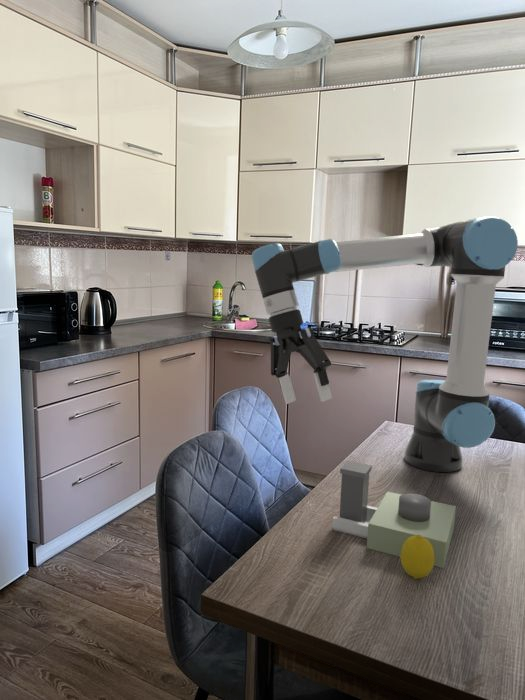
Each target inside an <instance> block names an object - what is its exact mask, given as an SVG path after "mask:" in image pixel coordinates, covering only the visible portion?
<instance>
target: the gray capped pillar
mask: <svg viewBox="0 0 525 700" xmlns="http://www.w3.org/2000/svg"><path fill="white" fill-rule="evenodd" d="M372 469H373V465H372V464H367V463H364V462H363V463H361V462H356V461H351V460H346V462H344V464H343V465H342V466H341V467H340V468H339V474H341V484H340V485H341V486H340V500H339V501H340V502H339V503H340V504H339V517H340V518H344V519H349V520H353V521H357V522H361V523H365V521H366V517H367V506H368V503H369V502H368V500H369V496H368V495H369V485H370V483H369V482H370V473H371V472H372Z"/></svg>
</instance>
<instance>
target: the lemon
mask: <svg viewBox="0 0 525 700" xmlns="http://www.w3.org/2000/svg"><path fill="white" fill-rule="evenodd" d="M400 562H401V565H402V566H401V567H402V568H403V570H404V571H405V572H406V574H407V575H409V576H411V577H412V578H413V579H414V580H418V579H421V578H425V577H427V576H428V575H429V574H431V572H432V570H433V568H434V567H435V566H434V550H433V547H432V545H431V543H430V542H429V541H428V540H427V539H426V538H424V537H422V536H421V535H415V536H411V537H409V538H408V539H407V540H406V541H405V542H404V544H403V546H402V550H401V557H400Z"/></svg>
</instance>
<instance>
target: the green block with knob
mask: <svg viewBox="0 0 525 700" xmlns="http://www.w3.org/2000/svg"><path fill="white" fill-rule="evenodd" d="M383 496H384V497H383V498H382V500H381V502H380V503H379V504H378V507H376V506H371V505H367V517H366V521H365V523H361V522H357V521H353V520H349V519H344V518H340V516H336V515H334V516H333V517H332V527H331V528H332V531H337V532H340V533H344V534H348V535H352V536H355V537H360V538H364V539H366V549H369V550H373V551H377V552H380V553H384V554H389V555H392V556H396V557H399V558H401V550H402V546H403V544H404V542H405V541H406V540H407V539H408V538H409V537H411V536H415V535H421V536H422V537H424V538H426V539H427V540H428V541H429V542H430V543H431V545H432V547H433V550H434V566H433V567H438V568H442V569H444V568H445V566H446V562H447V558H448V553H449V549H450V545H451V541H452V537H453V534H454V530H455V518H456V509H457V506H456V505H452V504H448V503H441V502H438V501H432V500H431V499H430V498H428V497H426V496H425V495H422V494H418V493H403V494H400V493H395V492H392V491H387V492H386V493H385V495H383Z"/></svg>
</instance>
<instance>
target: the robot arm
mask: <svg viewBox="0 0 525 700" xmlns="http://www.w3.org/2000/svg"><path fill="white" fill-rule="evenodd" d="M518 246H519V243H518V236H517V233H516V231H515V229H514V227H512V226H511V224H510V223H509V222H508V221H506V220H505V219H503V218H501V217H497V216H478V217H475V218H471V219H464V220H459V221H456V222H453V223H450V224H449V223H448V224H446V225H442V226H439V227H438V226H437V227H431V228H424V229H423V230H422V231H421V232H420V233H413V234H402V235H391V236H384V237H383V236H381V237H372V238H362V239H354V240H343V241H342V240H341V241H335V240H334V239H333V238H327V239H323V240H322V239H321V240H318V241H315V242H312V243H308V244H302V245H301V244H300V245H298V246H296V247H294V248H291V249H290V248H289V249H285V248H284V247H283V245H282V244H281V243H280V242H277V243H271V244H270V243H269V244H266V245H263V246H260V247H258V248H256V249H254V250H253V252H252V253H251V260H252V264H253V269H254V273H255V276H256V281H257V282H258V283H257V284H258V286H259V290H260V293H261V298H262V299H263V304H264V307H265V311H266V313H267V314H266V315H268V316H270V317H268V322H269V325H270V331H271V332H272V333H276V335H274V336H270V337H269V338H268V340H269V345H270V375H271V376H272V377H273V376H275V377H276V378H277V379H278V383H279V387H280V389H281V392H282V395H283V399H284V402H285V404H286V405H288V404H291V403H293V402H296V401H297V399H296V395H295V391H294V388H293V387H294V386H293V384H292V380H291V376H290V374H289V372H288V368H289V362H290V358H291V354H292V353H295V352H296V353H298V354H300V356H302V357H303V359H304V360H305V361H306V362H307V363H308V365H309V366H310V367H311V368H312V369H313V374H312V375H313V378H314V381H315V385H316V388H317V392H318V395H319V399H320V402H321V403H322V402H326V401H329V400H332V399H333V396H332V393H331V388H330V385H329V384H330V381H329V377H328V374H327V373H328V372H327V369H328V367H330V366H332V362H331V360H330V359H329V357H328V355H327V354H326V352H325V351H324V349H323V348H322V346H321V345H320V343H319V341H318V340H317V338H316V337H315V334H314V331H313V328H312V327H311V326H310V327H305V328H302V326H303V325H304V320H303V317H302V313H301V310H300V309H298V307H299V301H298V298H297V294H296V290H295V288H294V283H296V282H297V283H298V282H300V281H303V280H307V279H311V278H315V277H318V276H322V275H329V274H331V273H339V272H348V271H349V272H350V271H359V270H368V269H369V270H370V269H379V268H380V269H381V268H387V267H389V268H390V267H399V266H408V265H409V266H410V265H411V266H412V265H420V264H422V265H423V266H424V267H426V268H427V267H429V268H430V267H449V268H450V267H451V271H450V276H451V277H452V279H454V281H455V282H456V287H455V296H454V304H453V305H454V306H453V314H452V315H453V316H452V322H451V323H452V325H451V333H450V343H449V350H448V351H449V353H448V362H447V369H446V378H445V380H444V379H421V380H420V381H419V382H417V385H416V390H415V402H414V403H415V405H414V417H413V418H414V419H413V432H412V434H411V437H410V439H409V441H408V443H407V446H406V448H405V449H404V450H405V451H404V460H405V462H406V463H407V464H409V465H410V466H413V467H415V468H417V469H421V470H424V471H429V472H436V473H448V472H449V473H451V472H456V471H460V470H461V469H462V467H463V460H464V459H463V454H462V451H461V450H462V449H463V448H465V449H468V448H469V449H470V448H471V449H472V448H475V447H478V446H480V445H482V444H483V443H484V442H486V441H487V440H488V439H490V437H491V436H492V434H493V433H494V430H495V427H496V418H495V415H494V413H493V411H492V410H491V408H490V407H489V401H490V395H491V394H490V391H489V390H488V388H486V386H485V377H486V370H487V360H488V359H487V358H488V352H489V342H490V337H491V326H492V319H493V312H494V311H493V310H494V302H495V295H496V287H497V284H499V282H501V281H502V280H503V279H505V271H506V266H507V265H508V264H509V263H510V262H511V261H512V260H513V259H514V257H515V256H516V253H517V252H518ZM461 448H462V449H461Z"/></svg>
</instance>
